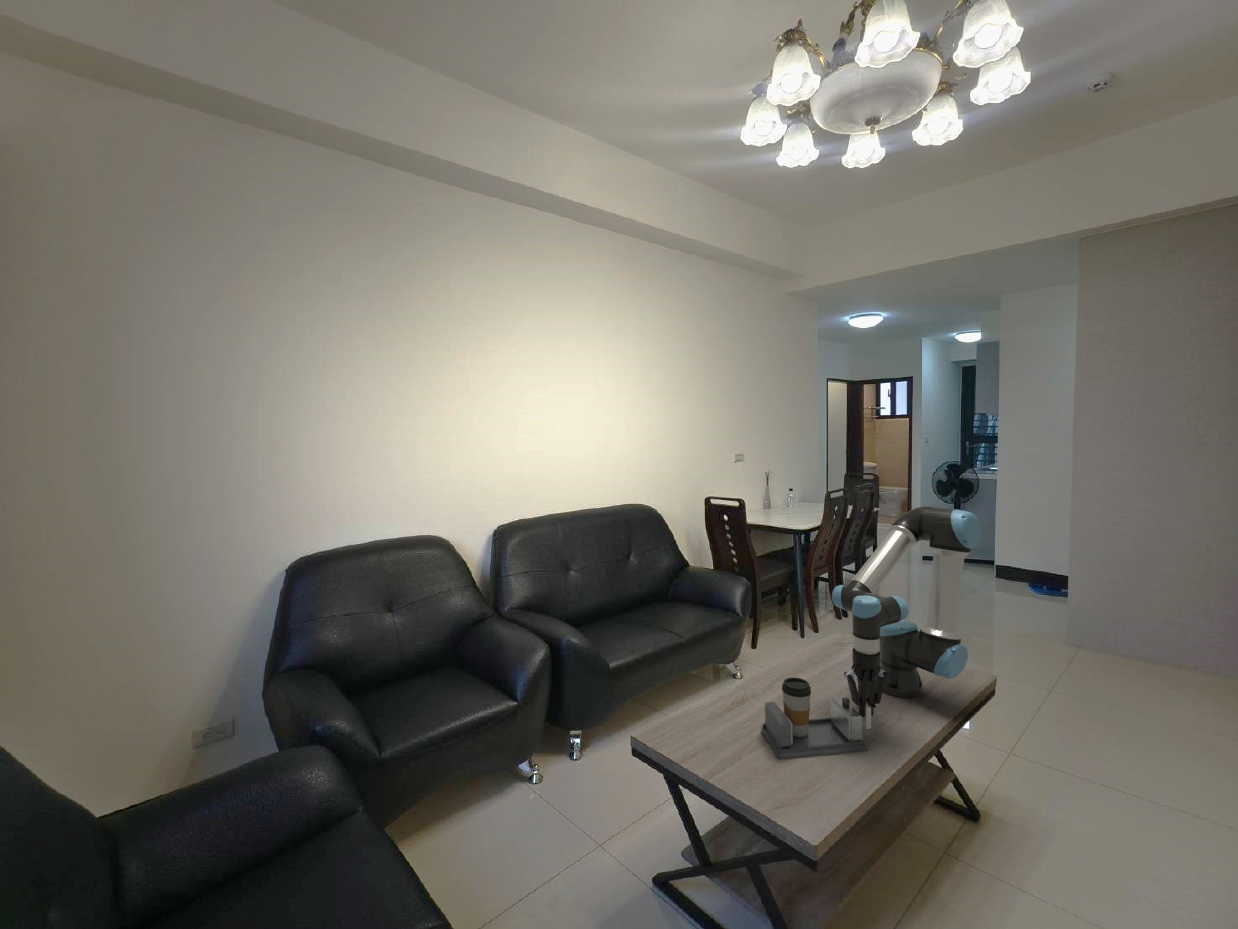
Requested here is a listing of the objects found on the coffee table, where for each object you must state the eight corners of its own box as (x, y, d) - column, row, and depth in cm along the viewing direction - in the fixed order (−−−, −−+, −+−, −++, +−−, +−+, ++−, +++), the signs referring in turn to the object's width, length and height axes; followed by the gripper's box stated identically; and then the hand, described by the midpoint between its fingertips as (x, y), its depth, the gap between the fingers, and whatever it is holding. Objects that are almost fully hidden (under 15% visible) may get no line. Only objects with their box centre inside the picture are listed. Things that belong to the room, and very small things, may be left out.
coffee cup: (778, 724, 165) (777, 677, 164) (804, 723, 166) (804, 675, 165) (788, 740, 157) (788, 690, 156) (816, 738, 158) (815, 688, 157)
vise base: (841, 724, 167) (841, 694, 167) (866, 750, 153) (866, 718, 153) (761, 731, 165) (760, 701, 164) (779, 759, 151) (778, 726, 150)
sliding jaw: (840, 720, 166) (840, 689, 166) (861, 743, 154) (861, 709, 154) (829, 721, 166) (829, 690, 165) (849, 744, 154) (849, 710, 153)
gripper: (879, 642, 163) (879, 717, 165) (838, 645, 162) (838, 721, 164) (894, 653, 156) (894, 731, 157) (852, 656, 155) (852, 735, 156)
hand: (866, 726), depth 161 cm, fingers closed
